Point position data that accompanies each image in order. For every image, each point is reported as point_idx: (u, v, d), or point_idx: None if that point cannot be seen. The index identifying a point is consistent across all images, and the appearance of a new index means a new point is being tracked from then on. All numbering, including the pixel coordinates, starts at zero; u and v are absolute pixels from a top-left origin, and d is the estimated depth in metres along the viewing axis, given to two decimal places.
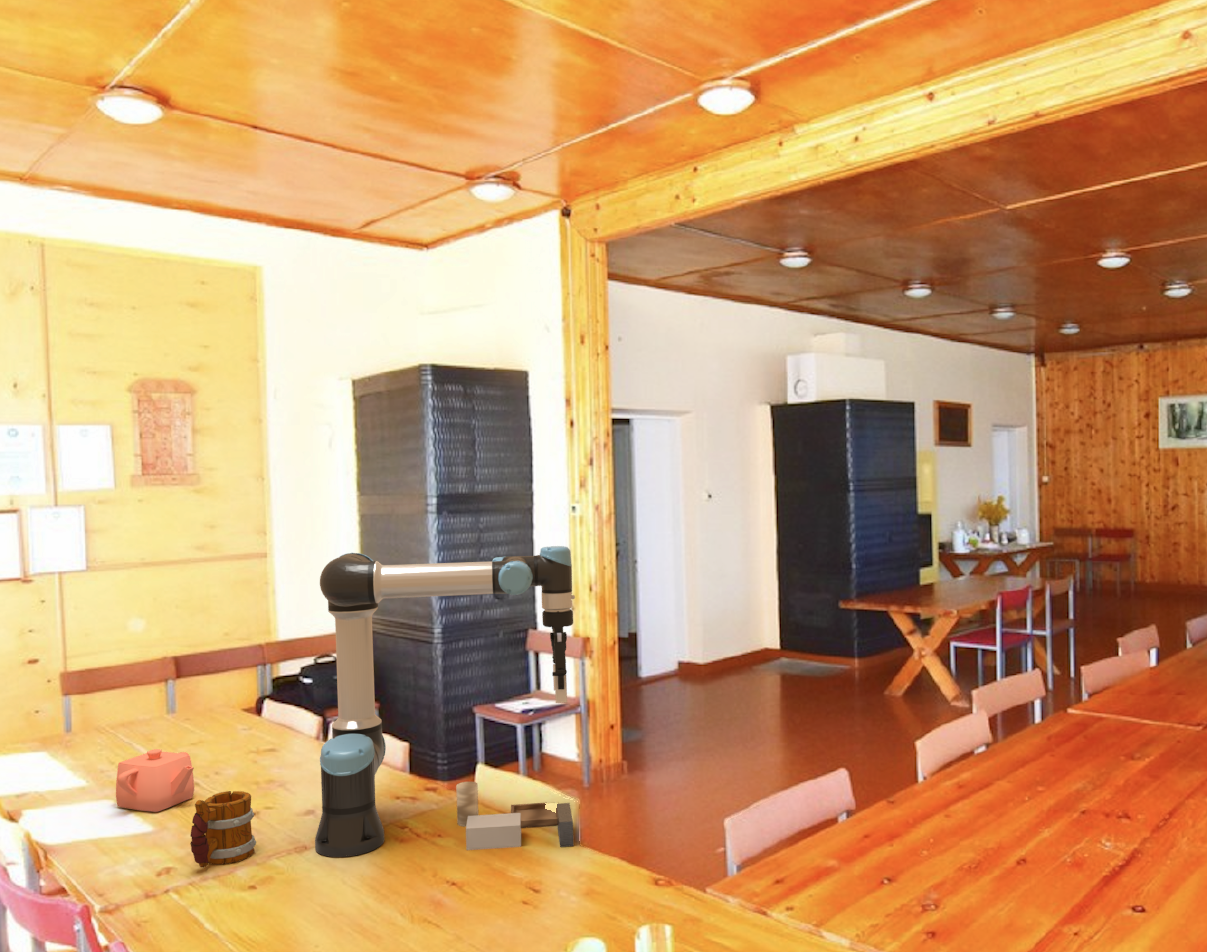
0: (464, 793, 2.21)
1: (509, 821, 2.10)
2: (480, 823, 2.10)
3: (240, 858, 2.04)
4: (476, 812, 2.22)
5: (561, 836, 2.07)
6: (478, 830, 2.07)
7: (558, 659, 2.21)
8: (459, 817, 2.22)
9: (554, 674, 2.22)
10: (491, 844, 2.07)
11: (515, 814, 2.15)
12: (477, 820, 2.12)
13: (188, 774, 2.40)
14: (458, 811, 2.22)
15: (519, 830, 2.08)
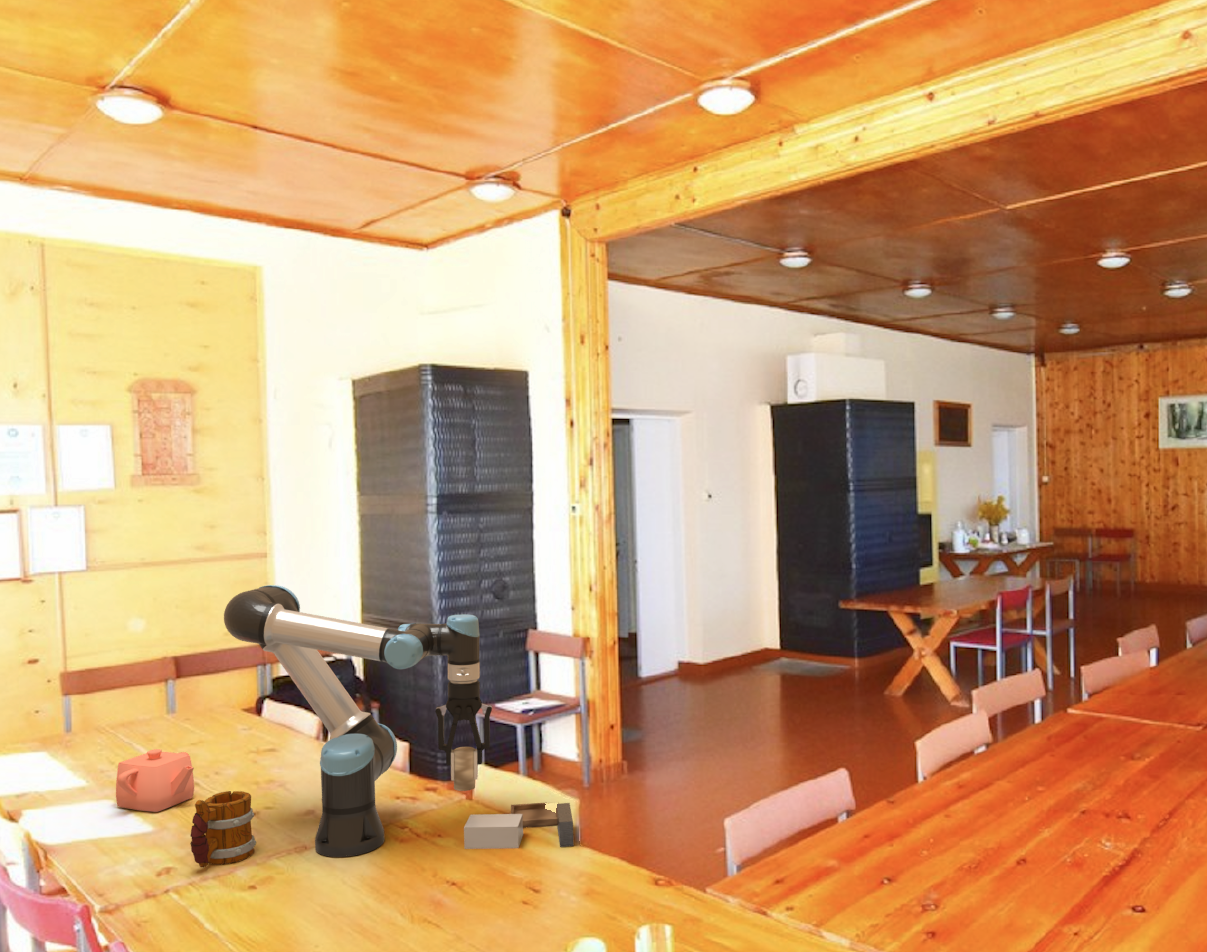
0: (461, 757, 2.21)
1: (508, 822, 2.10)
2: (480, 822, 2.10)
3: (240, 858, 2.04)
4: (473, 777, 2.23)
5: (561, 836, 2.07)
6: (475, 829, 2.07)
7: None
8: (455, 782, 2.22)
9: None
10: (489, 844, 2.07)
11: (516, 815, 2.14)
12: (478, 819, 2.12)
13: (188, 774, 2.40)
14: (455, 775, 2.22)
15: (516, 831, 2.07)
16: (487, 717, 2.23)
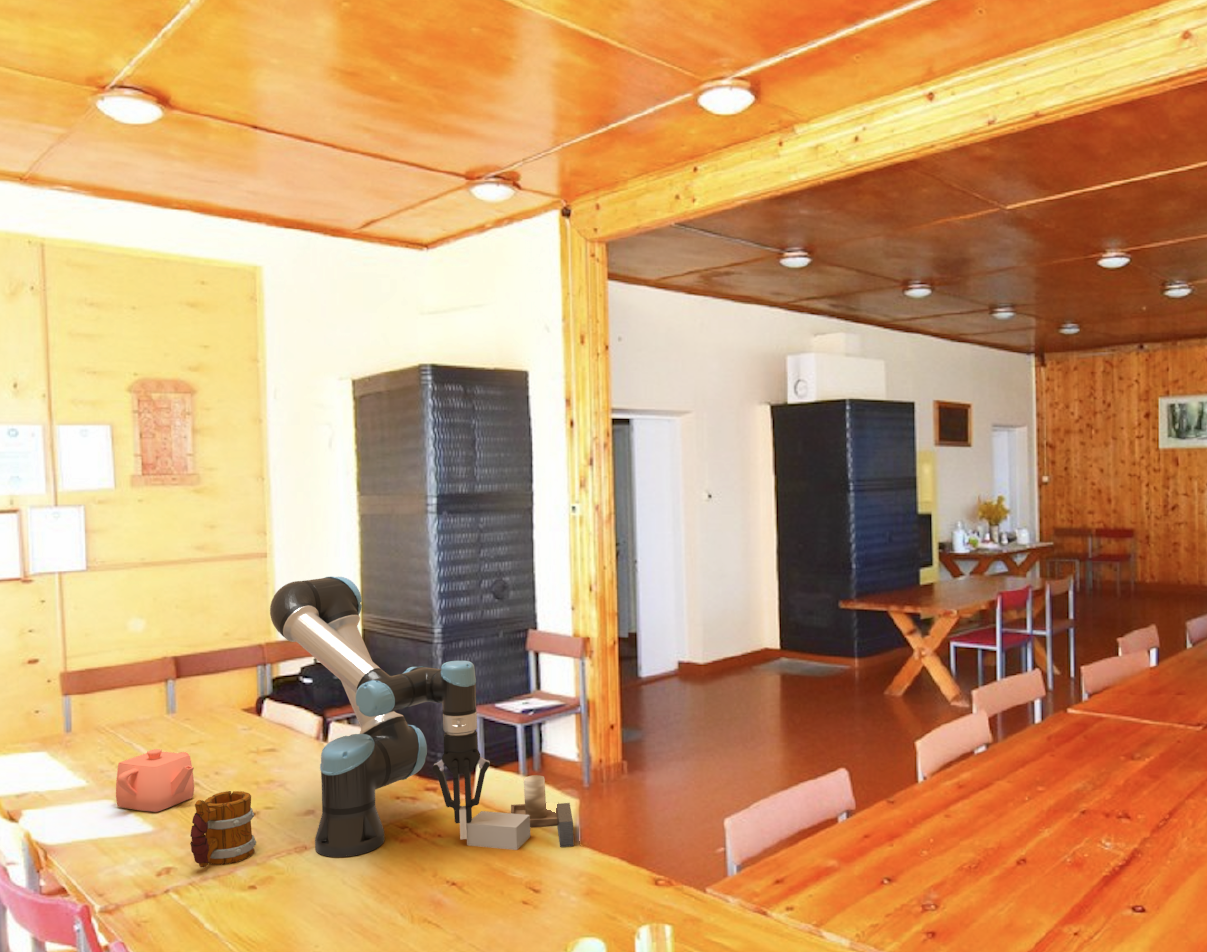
0: (533, 786, 2.23)
1: (510, 822, 2.09)
2: (484, 820, 2.11)
3: (240, 858, 2.04)
4: (544, 805, 2.24)
5: (561, 836, 2.07)
6: (477, 826, 2.09)
7: None
8: (528, 811, 2.23)
9: None
10: (489, 842, 2.08)
11: (523, 816, 2.13)
12: (485, 816, 2.13)
13: (188, 774, 2.40)
14: (527, 805, 2.23)
15: (515, 832, 2.06)
16: (483, 772, 2.10)
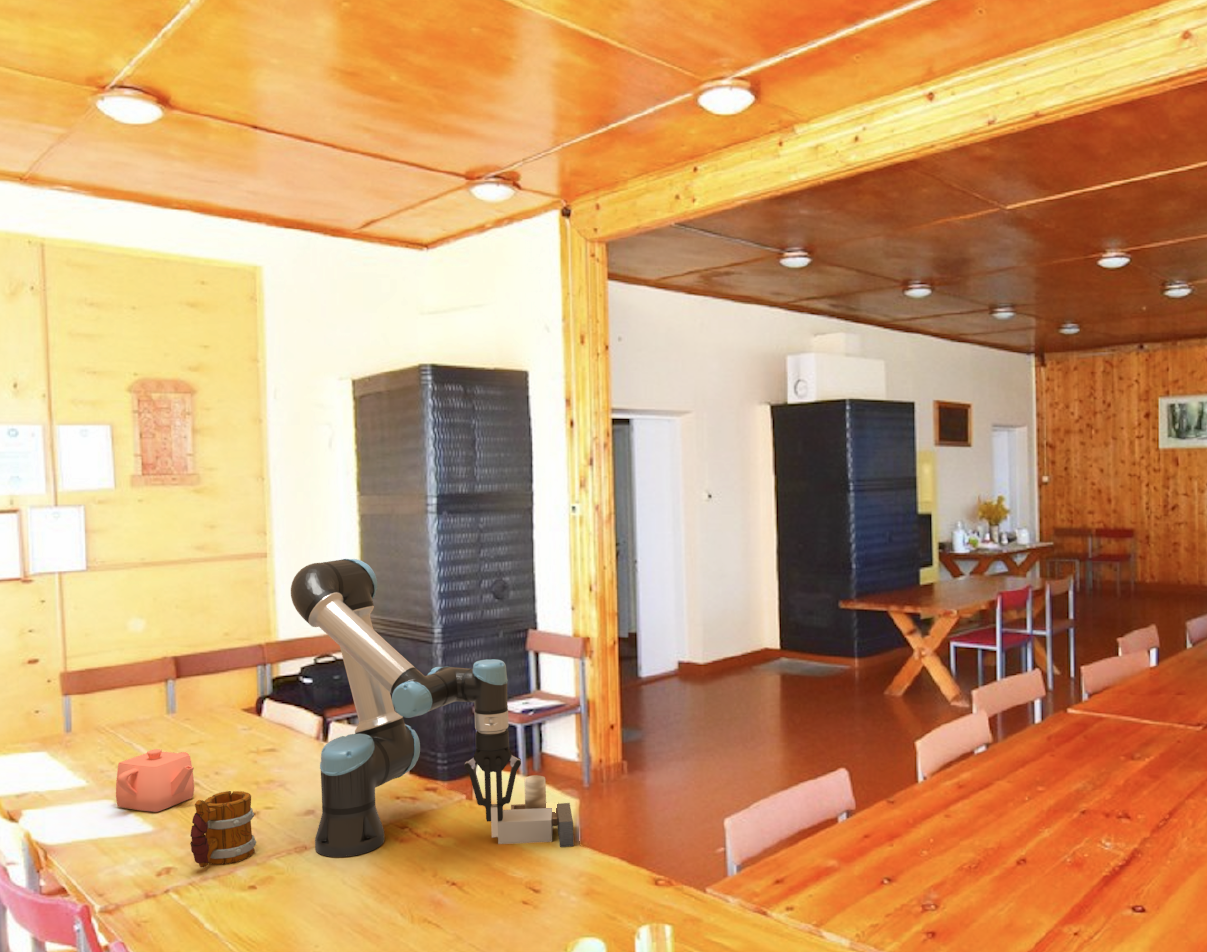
0: (534, 787, 2.22)
1: (541, 816, 2.12)
2: (512, 817, 2.12)
3: (240, 858, 2.04)
4: (545, 805, 2.24)
5: (561, 836, 2.07)
6: (509, 824, 2.10)
7: None
8: None
9: None
10: (522, 838, 2.10)
11: (547, 809, 2.17)
12: (509, 814, 2.14)
13: (188, 774, 2.40)
14: (527, 805, 2.23)
15: (550, 825, 2.10)
16: (514, 771, 2.10)
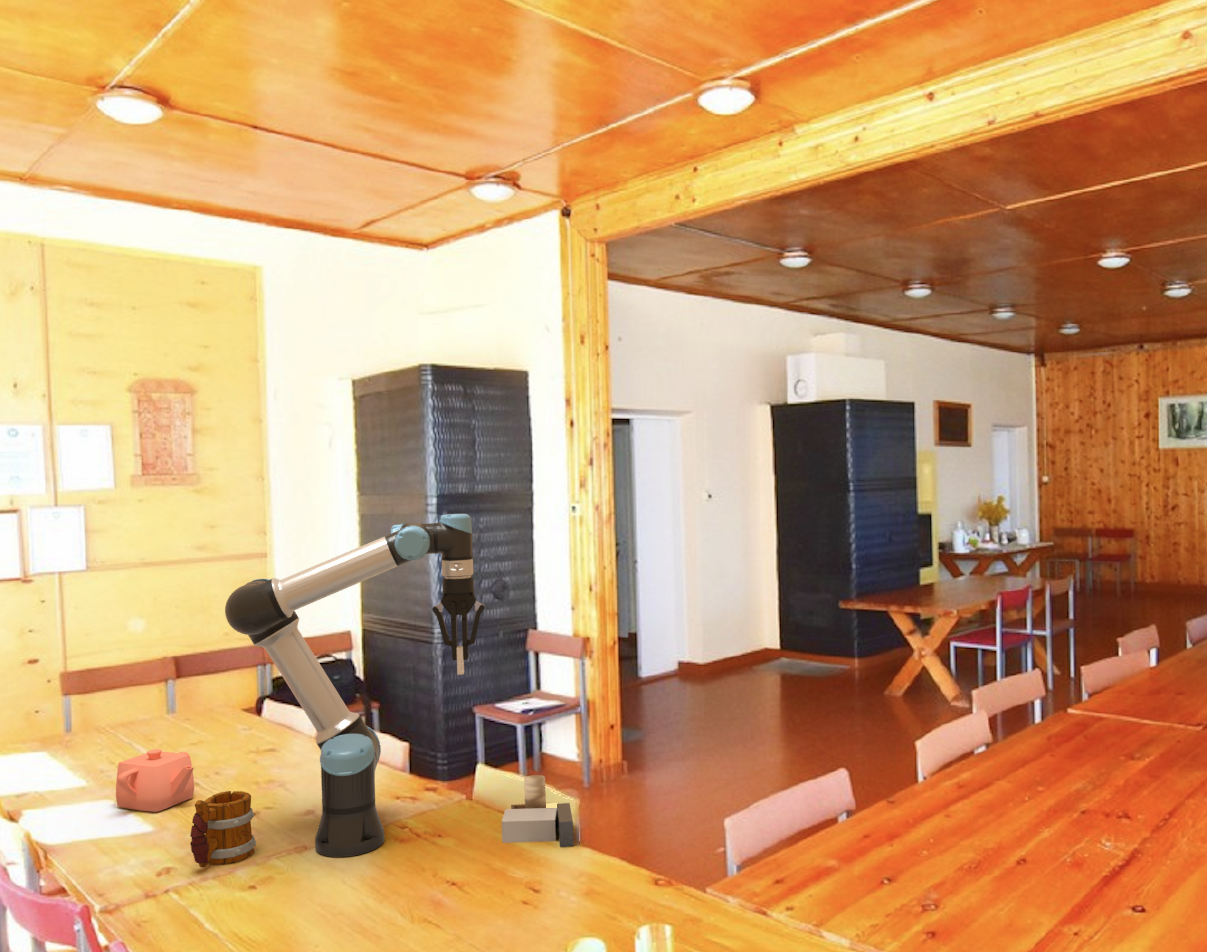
0: (536, 785, 2.23)
1: (545, 816, 2.13)
2: (516, 816, 2.13)
3: (240, 858, 2.04)
4: (545, 804, 2.25)
5: (561, 836, 2.07)
6: (513, 823, 2.10)
7: None
8: None
9: None
10: (526, 837, 2.10)
11: (551, 809, 2.17)
12: (514, 813, 2.15)
13: (188, 774, 2.40)
14: (529, 804, 2.23)
15: (554, 825, 2.10)
16: (478, 614, 2.29)
